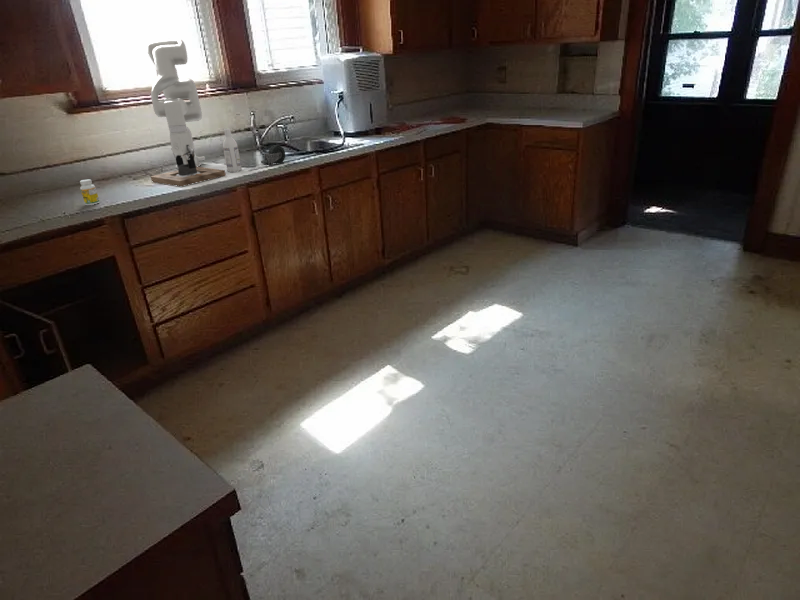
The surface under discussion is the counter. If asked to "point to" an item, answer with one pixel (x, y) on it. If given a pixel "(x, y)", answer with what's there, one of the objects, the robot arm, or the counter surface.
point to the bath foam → (231, 152)
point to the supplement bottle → (89, 192)
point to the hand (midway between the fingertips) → (186, 167)
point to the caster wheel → (274, 155)
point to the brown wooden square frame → (181, 181)
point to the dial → (186, 171)
